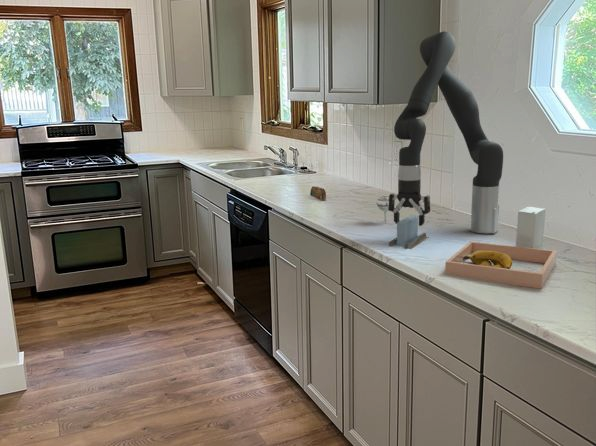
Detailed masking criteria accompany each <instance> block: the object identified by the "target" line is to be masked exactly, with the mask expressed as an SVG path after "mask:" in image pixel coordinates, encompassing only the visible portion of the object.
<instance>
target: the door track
mask: <svg viewBox="0 0 596 446" xmlns="http://www.w3.org/2000/svg"><path fill="white" fill-rule="evenodd" d="M427 239H429V236H427V232H422V233H421V234H419V235H418V236H417V237H416V238H414V239H413V240H411V241H410V242H408V243H406V244H405V246H404V247H405V249H408V250H412V249H414V248H416V246H418V245H421V243H423V242H424V241H426V240H427ZM394 245H397V237H395V238H393V239H391V240H390V241H388V246H389V247H393V246H394Z"/></svg>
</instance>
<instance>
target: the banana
mask: <svg viewBox="0 0 596 446" xmlns="http://www.w3.org/2000/svg"><path fill="white" fill-rule="evenodd" d="M467 260H470V261H471V262H472V264H474V265H482V266H490V267H498V268H505V269H512V268H511V267H512V266H513V261H512V260H513V259H511V258H510V256H508V255H507V254H505V253H501V252H497V251H488V250H482V251H476V252H474V253H471V254H470V255H469V256H467V255H466V256H464V258H463V261H462V262H465V261H467Z"/></svg>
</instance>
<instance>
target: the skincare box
mask: <svg viewBox="0 0 596 446" xmlns="http://www.w3.org/2000/svg"><path fill="white" fill-rule="evenodd" d="M545 220H546V208H541V207H535V206H527V207H524V208H523V209H521V210H518V211H517V224H516V238H515V246H517V247H527V248H536V249H543V242H544V233H545Z"/></svg>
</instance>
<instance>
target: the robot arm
mask: <svg viewBox="0 0 596 446" xmlns="http://www.w3.org/2000/svg"><path fill="white" fill-rule="evenodd" d="M455 50H456V40H455V37H454V36H453V34H452V33H450V32H449V31H444V30H443V31H439V32H437V33H435V34H432V35H429V36H428V37H426V38H424V39H422V41H421V42H420V45H419V53H420V56H421V58H422V60H423V62H424V64H425V65H426V68H425V70H424V72H423V73H422V74H421V76H420V77H419V79H418V80H417V82H416V83H415V85H414V86H413V88H412V91H411V94H410V96H409V98H408V99H409V100H408V102H407V104H406V106H405V108H404V109H403V110H402V112H401V113H400V115H399V116H398V118H397V119H396V121H395V123H394V126H393V127H394V128H393V132H394V135H395V138H397V139H399V140H406V141H407V140H408V141H410V143H409V144H408V146H404V147H401V148H400V149H399V152H398V173H397V182H398V183H397V184H398V185H397V193H395V192H393V193H390V194H389V207H388V211H390V212H392V213H393V222H395V225H397V222H399V221H400V213H401V212H399V211H401V210H402V208H409V209H415V211H417V213H418V227H422V226H423V225H424V224H425V217H426V215H427V214H429V213H430V212H431V198H430V195H428V194H427V195H421V184H422V183H421V180H422V178H421V177H422V170H421V151H422V147H423V143H424V140H425V137H426V134H427V133H426V132H427V127H426V124H425V122H424V120H423V119H421V117H424V116H425V115H426V114H427V113H428V110H429V108H430V107H429V106H430V105H431V102H432V98H433V97H434V93H435V91H436V88H437V86H438V87H439V90H440V91H441V94H442V95H443V98H444V100H445V102H446V105H447V106H448V109H449V111H450V113H451V115H452V116H453V118H454V120H455V123H456V125H457V127H458V129H459V130H460V132H461V134H462V136H463V139H464V141H465V144H466V147H467V150H468V154H469V156H470V158H471V160H472V161H473V163H475V165H477V172H476V175H475V176H474V177H473V178H472V188H471V191H472V192H471V212H470V213H471V214H470V216H471V217H470V231H471V232H473V233H478V234H496V232H498V231H499V219H500V217H499V215H500V205H499V191H500V181H501V179H502V174H503V168H504V167H503V165H504V150H503V147H502V146H501V145H500V144H499V143H497V142H495V141H490V140H489V138H488V137H487V136H486V134H485V132H484V130H483V127H482V125H481V122H480V121H481V120H480V111H479V109H480V108H479V105H478V103H477V101H476V98H475V96H474V94H473V91H472V90H471V88H470V87H469V86H468V85H467V84H466V83H465V82H464V81H463V80H462V79H461V78H459V77H458V76H457V75H456V74H455V73H454V72H453V71H452V70H451V69H450V67H449V66H448V64H449V62H450V61H451V58H452V57H453V56H454V53H455ZM396 200H398V203H397V205H396V204H395V201H396ZM421 200H422V201H421ZM420 201H421V202H423V205H422V204H421V202H420ZM395 205H396V206H395ZM423 207H424V208H423Z"/></svg>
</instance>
